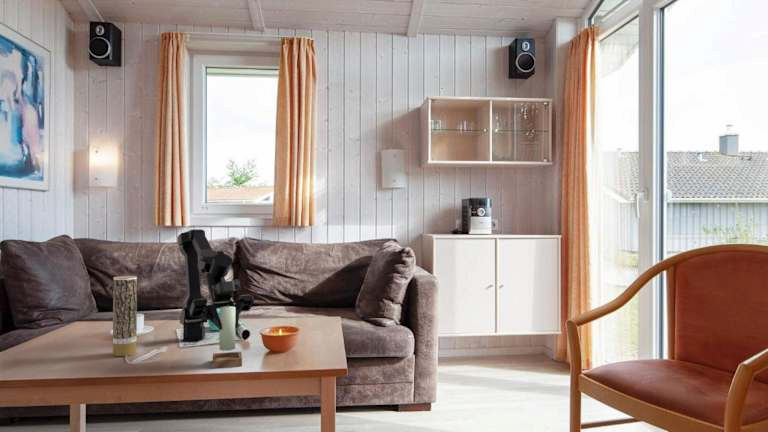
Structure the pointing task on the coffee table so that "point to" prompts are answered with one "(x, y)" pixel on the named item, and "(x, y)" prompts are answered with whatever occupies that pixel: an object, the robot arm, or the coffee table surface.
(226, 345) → the candle
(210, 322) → the decorative dice
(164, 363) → the coffee table surface
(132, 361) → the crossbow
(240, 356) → the holder
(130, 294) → the wooden log cylinder
